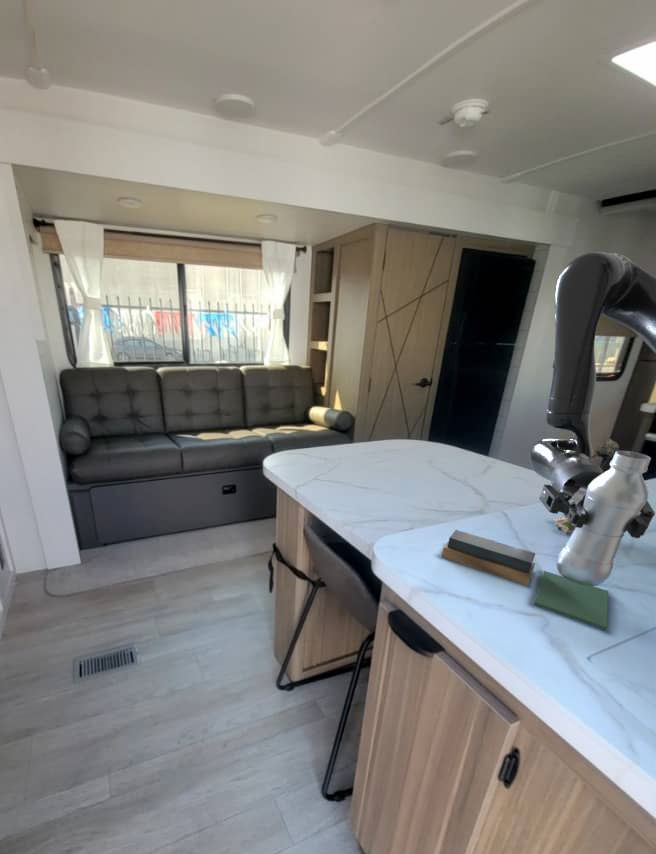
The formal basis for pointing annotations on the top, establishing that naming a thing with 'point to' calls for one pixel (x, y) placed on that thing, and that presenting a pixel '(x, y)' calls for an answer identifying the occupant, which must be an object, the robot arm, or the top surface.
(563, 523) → the plant with pod
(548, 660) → the top surface
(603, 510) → the silver metal bottle
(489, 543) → the grey and wooden block
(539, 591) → the drying mat
